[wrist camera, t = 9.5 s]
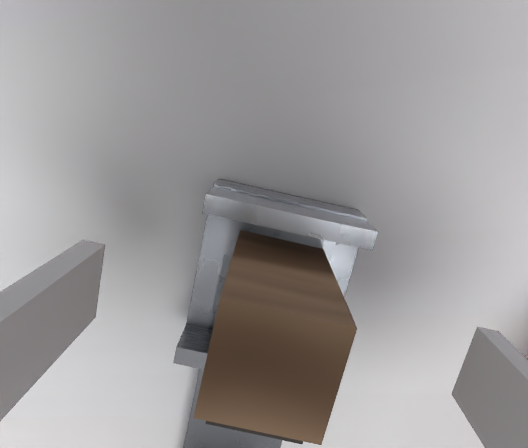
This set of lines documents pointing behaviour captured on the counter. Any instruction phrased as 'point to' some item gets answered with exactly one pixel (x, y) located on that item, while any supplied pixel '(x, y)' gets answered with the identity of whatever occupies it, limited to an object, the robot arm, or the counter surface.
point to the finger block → (276, 342)
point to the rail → (218, 261)
